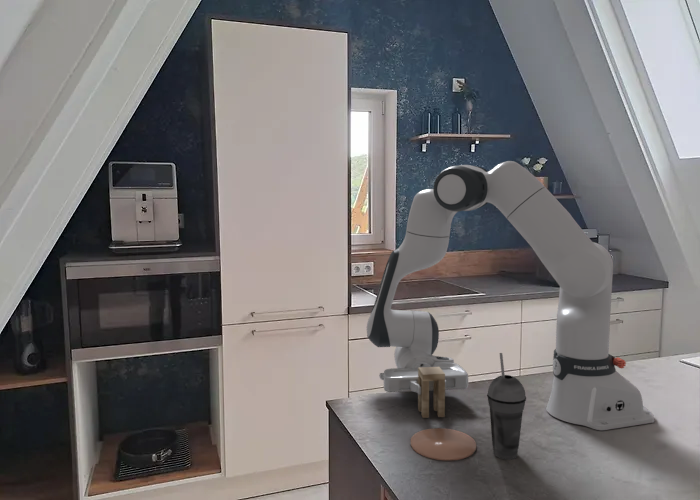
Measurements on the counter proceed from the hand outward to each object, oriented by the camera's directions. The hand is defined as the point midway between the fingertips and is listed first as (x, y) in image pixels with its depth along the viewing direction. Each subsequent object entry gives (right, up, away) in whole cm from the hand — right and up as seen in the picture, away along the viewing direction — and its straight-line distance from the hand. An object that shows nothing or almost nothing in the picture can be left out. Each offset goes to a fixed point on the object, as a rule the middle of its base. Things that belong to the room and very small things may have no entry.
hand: (432, 391), depth 123 cm
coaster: (0, -7, -13) cm, 15 cm away
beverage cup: (+12, -8, -17) cm, 22 cm away
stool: (0, -5, +1) cm, 6 cm away
